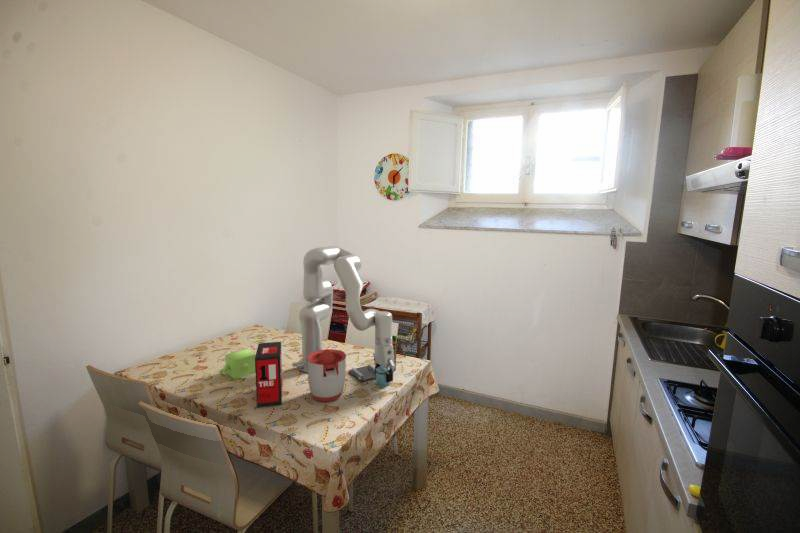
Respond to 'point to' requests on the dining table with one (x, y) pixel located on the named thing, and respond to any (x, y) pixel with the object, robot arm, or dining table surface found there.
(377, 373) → the blue lidded jar
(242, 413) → the dining table surface
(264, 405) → the cleaning product box
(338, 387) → the citrus juicer
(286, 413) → the dining table surface
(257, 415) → the dining table surface
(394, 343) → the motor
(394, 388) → the dining table surface
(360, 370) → the mount plate
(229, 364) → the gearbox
